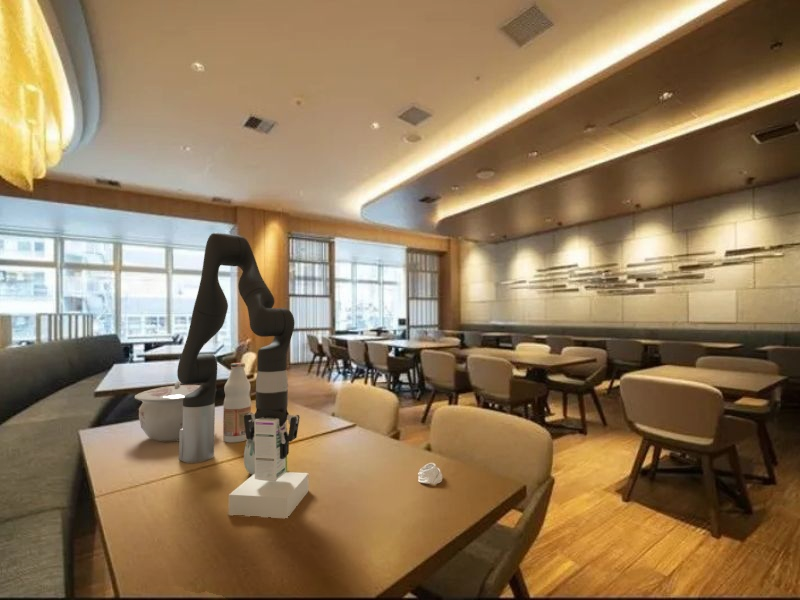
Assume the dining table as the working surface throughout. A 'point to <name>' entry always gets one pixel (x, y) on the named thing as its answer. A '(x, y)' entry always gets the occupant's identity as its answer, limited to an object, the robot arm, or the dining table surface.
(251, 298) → the robot arm
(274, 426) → the syrup box
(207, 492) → the dining table surface
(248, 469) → the vase
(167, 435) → the chamber pot
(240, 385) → the fruit juice
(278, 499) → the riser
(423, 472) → the whipped cream
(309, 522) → the dining table surface
